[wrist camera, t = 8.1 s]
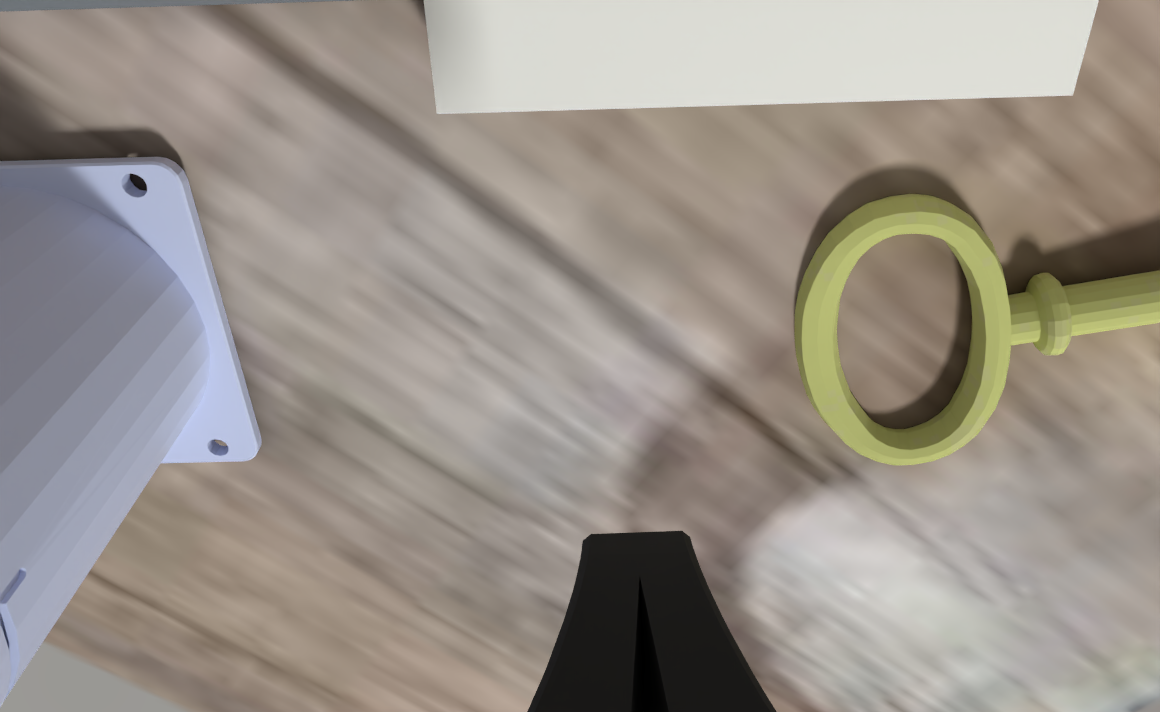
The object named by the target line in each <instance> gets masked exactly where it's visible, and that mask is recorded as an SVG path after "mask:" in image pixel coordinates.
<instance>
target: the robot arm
mask: <svg viewBox="0 0 1160 712" xmlns="http://www.w3.org/2000/svg"><path fill="white" fill-rule="evenodd" d="M130 173H131V174H135V175H138V176H139V177H141V178H142V179H143V180H144V181H145V183H146V185H147V191H144V190H139V189H138V188H137V187H135V186H134V185H133V183H132V182H131V180H130ZM214 439H217V440H221V441H223V442H225V443H226V444H227V446H221V445H219V444H218V443H216V442H215V440H214ZM261 444H262V443H261V435H260V432H259V428H258V425H257V421H256V418H255V414H254V411H253V407H252V404H251V400H250V397H249V393H248V390H247V386H246V382H245V379H244V375H243V372H242V368H241V365H240V361H239V358H238V354H237V351H236V347H235V344H234V340H233V337H232V333H231V330H230V326H229V323H228V319H227V316H226V312H225V308H224V305H223V301H222V298H221V294H220V291H219V287H218V284H217V280H216V277H215V273H214V270H213V266H212V263H211V259H210V256H209V252H208V249H207V245H206V241H205V238H204V234H203V231H202V227H201V224H200V220H199V217H198V213H197V210H196V206H195V203H194V199H193V196H192V192H191V189H190V185H189V182H188V178H187V176H186V174H185V172H184V170H183V169H182V168H181V167H180V166H179V165H178V164H177V163H176V162H174V161H172V160H170V159H168V158H163V157H129V158H94V159H59V160H24V161H0V707H1V705H2V703H3V702H4V700H5V699H6V697H7V695H8V694H9V693H10V691H11V690H12V688H13V687H14V685H15V683H16V682H17V680H18V679H19V677H20V676H21V674H22V673H23V671H24V670H25V668H26V667H27V665H28V664H29V662H30V661H31V659H32V658H33V656H34V655H35V653H36V652H37V650H38V649H39V647H40V645H41V644H42V642H43V641H44V639H45V638H46V636H47V635H48V633H49V632H50V630H51V629H52V627H53V626H54V624H55V623H56V621H57V620H58V618H59V617H60V615H61V614H62V612H63V611H64V609H65V608H66V606H67V605H68V603H69V601H70V600H71V598H72V597H73V595H74V594H75V592H76V591H77V589H78V588H79V586H80V585H81V583H82V582H83V580H84V579H85V577H86V576H87V574H88V573H89V571H90V570H91V568H92V567H93V565H94V563H95V562H96V560H97V559H98V557H99V556H100V554H101V553H102V551H103V550H104V548H105V547H106V545H107V544H108V542H109V541H110V539H111V538H112V536H113V535H114V533H115V532H116V530H117V529H118V527H119V526H120V524H121V522H122V521H123V519H124V518H125V516H126V515H127V513H128V512H129V510H130V509H131V507H132V506H133V504H134V503H135V501H136V500H137V498H138V497H139V495H140V494H141V492H142V491H143V489H144V488H145V486H146V484H147V483H148V481H149V480H150V478H151V477H152V475H153V474H154V472H155V471H156V469H157V468H158V466H159V465H160V463H192V462H234V461H247V460H251V459H252V458H254V457H255V456H256V454H257V452H258V450H259V448H260V446H261ZM528 712H776V710H775V709H774V707H773V705H772V704H771V702H770V701H769V699H768V698H767V696H766V694H765V693H764V691H763V689H762V688H761V686H760V684H759V683H758V681H757V679H756V677H755V676H754V674H753V672H752V671H751V669H750V667H749V665H748V663H747V662H746V660H745V658H744V656H743V654H742V652H741V651H740V649H739V647H738V645H737V643H736V642H735V640H734V638H733V636H732V634H731V633H730V631H729V629H728V627H727V625H726V623H725V621H724V619H723V617H722V615H721V613H720V611H719V609H718V607H717V604H716V602H715V600H714V598H713V596H712V594H711V592H710V590H709V587H708V585H707V583H706V580H705V578H704V576H703V573H702V571H701V568H700V566H699V563H698V560H697V558H696V555H695V552H694V549H693V546H692V542H691V539H690V537H689V536H688V535H687V534H685V533H684V532H683V531H666V532H638V533H611V534H591V535H589V536H588V537H587V538H586V539H585V540H583V544H582V553H581V559H580V564H579V569H578V573H577V577H576V582H575V585H574V589H573V593H572V596H571V599H570V602H569V606H568V609H567V612H566V616H565V619H564V622H563V624H562V627H561V630H560V632H559V635H558V638H557V641H556V643H555V646H554V649H553V652H552V654H551V657H550V660H549V663H548V665H547V668H546V670H545V673H544V675H543V678H542V680H541V682H540V684H539V687H538V689H537V691H536V694H535V696H534V698H533V700H532V703H531V705H530V707H529V709H528Z"/></svg>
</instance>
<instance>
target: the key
mask: <svg viewBox="0 0 1160 712" xmlns="http://www.w3.org/2000/svg"><path fill="white" fill-rule="evenodd" d="M912 233H915V234H928V235H932V236H935V237H938V238H940V239H943V240H945V242H946V243H947V244H948V246H949V247H950V249H951V250H952V252H953V253H954V255H955V256H956V257H957V259H958V260H959V263H960V265H961V267H962V270H963V272H964V274H965V276H966V279H967V283H968V288H969V293H970V298H971V309H972V332H971V343H970V350H969V356H968V363H967V366H966V369H965V371H964V374H963V377H962V380H961V383H960V384H959V386H958V388H957V390H956V392H955V393H954V395H953V397H952V399H951V401H950V402H949V404H948V405H947V406H946V407H945V408H944V409H943V410H942V411H941V412H940V413H939V414H938V415H936V416H935V417H933V418H932V419H930V420H929V421H927V422H925V423H922V424H920V425H917V426H914V427H911V428H907V429H891V428H886V427H883V426H881V425H879V424H877V423H875V422H873V421H872V420H871V419H870V418H869V417H868V416H867V414H866V413H865V412H864V411H863V409H862V408H861V407H860V405H859V404H858V402H857V401H856V399H855V398H854V396H853V395H852V393H851V392H850V389H849V387H848V384H847V382H846V379H845V376H844V373H843V370H842V368H841V364H840V358H839V352H838V343H837V320H838V311H839V304H840V297H841V294H842V291H843V288H844V285H845V282H846V280H847V278H848V276H849V274H850V272H851V270H852V268H853V267H854V265H855V264H856V262H857V261H858V259H859V258H860V257H861V256H862V255H863V254H864V253H865V252H866V251H867V250H868V249H869V248H871V247H872V246H873V245H875V244H877V243H878V242H880V241H882V240H883V239H886V238H888V237H891V236H894V235H897V234H912ZM1154 323H1160V270H1158V271H1152V272H1146V273H1140V274H1134V275H1128V276H1122V277H1116V278H1109V279H1103V280H1097V281H1091V282H1085V283H1079V284H1073V285H1067V286H1062V285H1061V284H1060V282H1059V281H1058V280H1057V279H1056V278H1054V277H1053V276H1052V275H1051V274H1049V273H1040V274H1037V275H1034V276H1033V277H1032V278H1031V279H1030V281H1029V282H1028V285H1027V288H1026V291H1025V292H1024V293H1018V294H1012V295H1008V294H1007V288H1006V282H1005V278H1004V273H1003V269H1002V266H1001V263H1000V261H999V258H998V256H997V253H996V251H995V248H994V246H993V244H992V242H991V241H990V239H989V238H988V237H987V236H986V234H985V233H984V232H983V230H982V229H981V228H980V227H979V225H978V224H977V223H976V222H975V220H974V219H973V218H972V216H970V215H969V214H967V213H966V212H964V211H962V210H961V209H959V208H958V207H956V206H954V205H953V204H951V203H949V202H948V201H945V200H942V199H939V198H937V197H934V196H930V195H920V194H905V195H898V196H890V197H886V198H883V199H880V200H876V201H873V202H869V203H867V204H865V205H863V206H862V207H860V208H859V209H857V210H855V211H854V212H852V213H851V214H849V215H847V216H846V217H845V218H844V219H843V220H842V221H841V222H840V223H839V224H838V225H836V226H835V227H834V228H833V229H832V230H831V231H830V232H829V233H828V234H827V236H826V237H825V239H824V240H823V241H822V243H821V244H820V246H819V247H818V248H817V250H816V252H815V254H814V256H813V258H812V260H811V262H810V264H809V266H808V268H807V270H806V272H805V274H804V277H803V280H802V283H801V286H800V289H799V292H798V297H797V302H796V308H795V347H796V357H797V361H798V366H799V371H800V375H801V378H802V381H803V384H804V387H805V390H806V394H807V396H808V398H809V400H810V401H811V403H812V405H813V407H814V409H815V410H816V411H817V412H818V414H819V415H820V416H821V418H822V419H823V420H824V421H825V423H826V424H827V425H828V426H829V427H830V428H831V429H832V430H833V431H834V432H835V433H836V434H837V435H838V436H839V437H840V438H841V439H842V440H843V441H844V442H845V443H846V444H847V445H848V446H850V447H851V448H852V449H854V450H855V451H856V452H858V453H859V454H861V455H863V456H865V457H868V458H870V459H872V460H874V461H877V462H881V463H886V464H891V465H914V464H920V463H926V462H931V461H934V460H937V459H940V458H942V457H945V456H947V455H950V454H951V453H953V452H955V451H956V450H958V449H960V448H961V447H963V446H964V445H965V444H967V443H968V442H969V441H970V440H971V439H973V438H974V437H975V436H976V435H977V434H978V433H979V432H980V430H981V429H982V427H983V426H984V424H985V423H986V422H987V420H988V419H989V417H990V416H991V414H992V413H993V411H994V410H995V408H996V406H997V403H998V401H999V398H1000V396H1001V393H1002V391H1003V389H1004V386H1005V381H1006V376H1007V370H1008V365H1009V360H1010V349H1011V345H1017V344H1023V343H1030V342H1033V344H1034V346H1035V347H1036V348H1037V349H1038V350H1039V351H1040V352H1042V353H1043V354H1044V355H1059V354H1061V353H1063V352H1064V351H1065V349H1066V348H1067V346H1068V344H1069V343H1070V339H1071V336H1076V335H1082V334H1089V333H1095V332H1102V331H1108V330H1115V329H1121V328H1128V327H1135V326H1141V325H1148V324H1154Z"/></svg>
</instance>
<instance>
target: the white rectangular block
mask: <svg viewBox="0 0 1160 712" xmlns="http://www.w3.org/2000/svg"><path fill="white" fill-rule="evenodd" d="M1098 1H1099V0H424V8H425V17H426V25H427V34H428V42H429V51H430V59H431V68H432V76H433V85H434V93H435V102H436V110H437V114H453V113H487V112H521V111H555V110H589V109H624V108H658V107H692V106H726V105H760V104H795V103H829V102H863V101H897V100H932V99H966V98H1000V97H1034V96H1068V95H1073V92H1074V89H1075V85H1076V81H1077V78H1078V74H1079V70H1080V67H1081V63H1082V60H1083V56H1084V52H1085V49H1086V45H1087V41H1088V38H1089V34H1090V30H1091V27H1092V23H1093V19H1094V16H1095V12H1096V9H1097V5H1098Z"/></svg>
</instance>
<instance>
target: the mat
mask: <svg viewBox="0 0 1160 712" xmlns="http://www.w3.org/2000/svg"><path fill="white" fill-rule="evenodd" d="M319 1H351V0H0V11H28V10H60V9H93V8H125V7H157V6H189V5H222V4H254V3H286V2H319Z"/></svg>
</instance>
